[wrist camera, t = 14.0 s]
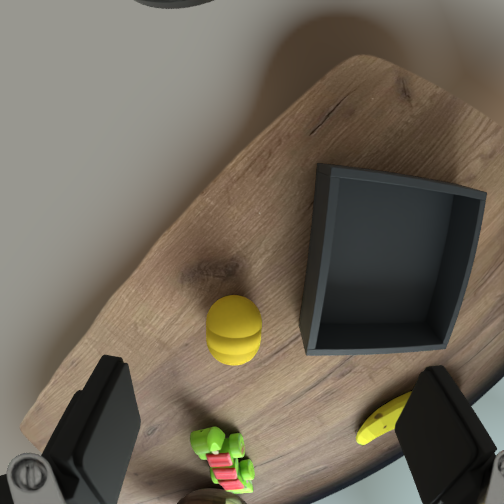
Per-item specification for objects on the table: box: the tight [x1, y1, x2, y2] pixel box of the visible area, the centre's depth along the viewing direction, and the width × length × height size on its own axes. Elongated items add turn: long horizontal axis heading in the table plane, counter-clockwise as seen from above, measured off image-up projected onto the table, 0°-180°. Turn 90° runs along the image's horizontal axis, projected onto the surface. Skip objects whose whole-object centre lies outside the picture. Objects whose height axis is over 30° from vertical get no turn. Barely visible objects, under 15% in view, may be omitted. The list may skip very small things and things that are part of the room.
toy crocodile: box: [190, 427, 255, 494], centre depth 40 cm, size 20×7×6 cm, turn 11°
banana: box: [356, 391, 412, 446], centre depth 39 cm, size 5×17×15 cm
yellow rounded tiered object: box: [206, 295, 262, 365], centre depth 32 cm, size 8×6×6 cm
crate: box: [299, 163, 487, 356], centre depth 30 cm, size 18×17×6 cm
